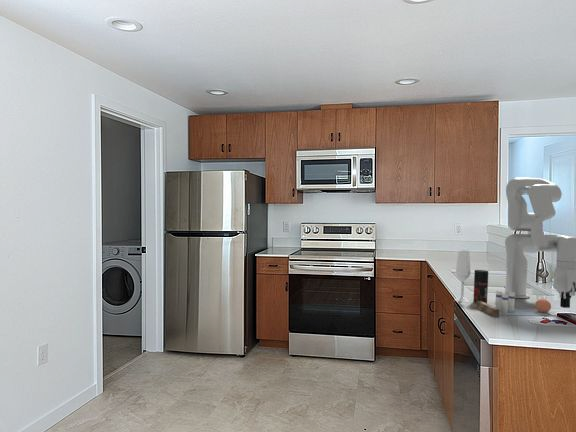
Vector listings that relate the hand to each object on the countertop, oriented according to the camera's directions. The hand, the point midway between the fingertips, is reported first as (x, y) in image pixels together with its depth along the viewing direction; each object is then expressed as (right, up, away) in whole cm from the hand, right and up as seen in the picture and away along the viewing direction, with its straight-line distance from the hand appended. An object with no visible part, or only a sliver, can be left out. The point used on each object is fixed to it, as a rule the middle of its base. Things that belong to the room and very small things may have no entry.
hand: (565, 307), depth 195 cm
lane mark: (-20, -2, 0) cm, 20 cm away
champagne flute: (-37, -1, +21) cm, 42 cm away
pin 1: (-28, -2, +2) cm, 28 cm away
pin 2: (-28, -2, -3) cm, 28 cm away
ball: (-10, +1, 0) cm, 10 cm away
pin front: (-24, -2, 0) cm, 24 cm away
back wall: (-34, -2, -1) cm, 34 cm away
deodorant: (-29, -2, +17) cm, 34 cm away
